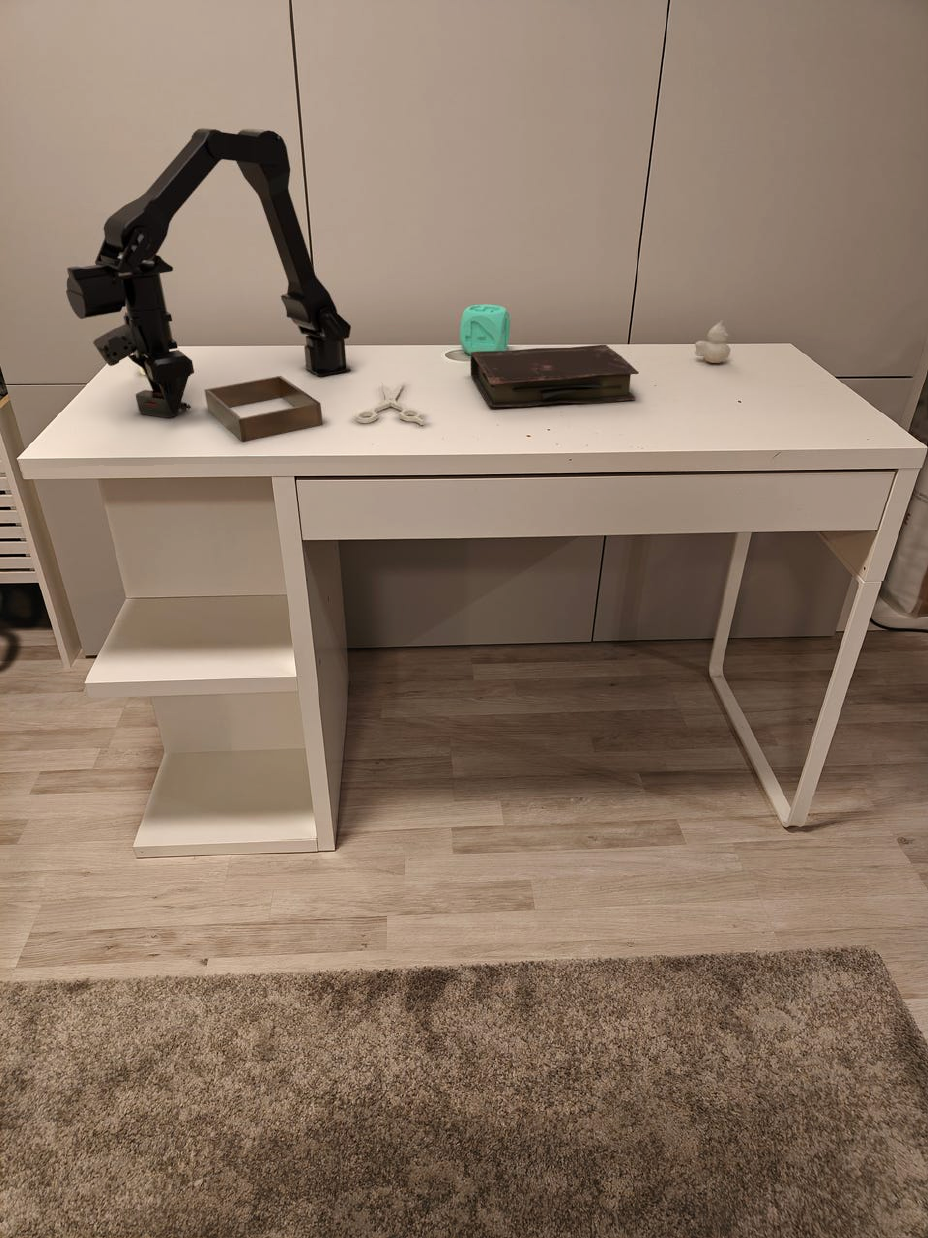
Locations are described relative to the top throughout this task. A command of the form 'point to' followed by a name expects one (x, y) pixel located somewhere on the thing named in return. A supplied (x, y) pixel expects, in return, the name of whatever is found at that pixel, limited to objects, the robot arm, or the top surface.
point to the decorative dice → (485, 328)
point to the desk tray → (266, 423)
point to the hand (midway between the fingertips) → (167, 406)
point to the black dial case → (155, 404)
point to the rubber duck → (714, 345)
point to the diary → (552, 376)
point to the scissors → (391, 402)
